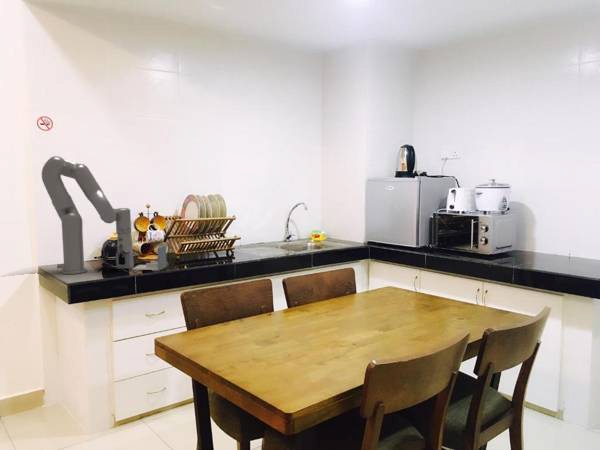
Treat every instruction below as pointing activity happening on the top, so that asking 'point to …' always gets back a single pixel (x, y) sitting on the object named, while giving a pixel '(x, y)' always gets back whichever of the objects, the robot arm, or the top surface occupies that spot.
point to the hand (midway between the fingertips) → (125, 262)
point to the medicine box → (128, 261)
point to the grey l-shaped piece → (155, 264)
